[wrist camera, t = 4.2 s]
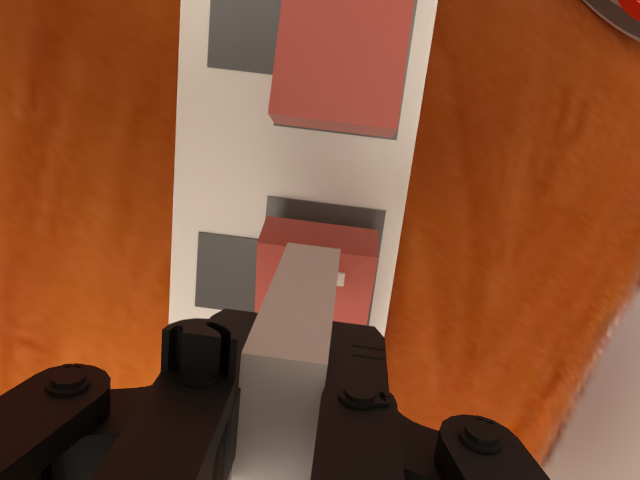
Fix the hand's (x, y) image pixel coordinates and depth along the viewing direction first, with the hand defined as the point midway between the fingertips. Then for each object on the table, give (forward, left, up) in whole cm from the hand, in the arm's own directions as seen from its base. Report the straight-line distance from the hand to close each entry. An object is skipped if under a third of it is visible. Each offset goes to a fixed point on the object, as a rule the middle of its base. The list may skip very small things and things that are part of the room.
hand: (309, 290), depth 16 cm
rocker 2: (+2, 0, -4) cm, 5 cm away
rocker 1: (-7, 0, -4) cm, 8 cm away
